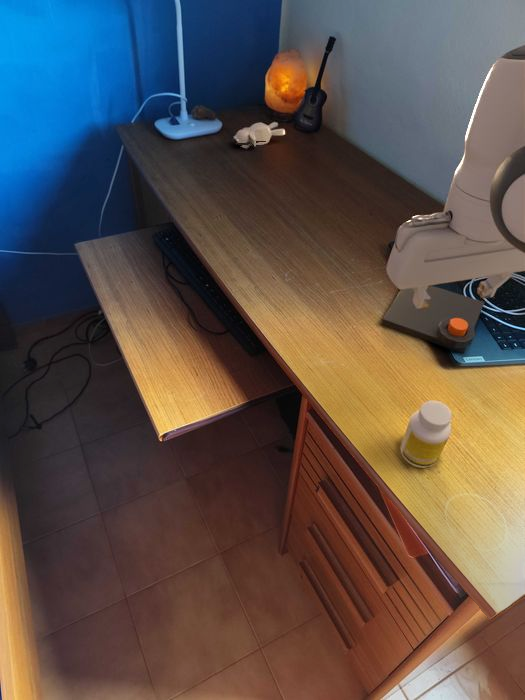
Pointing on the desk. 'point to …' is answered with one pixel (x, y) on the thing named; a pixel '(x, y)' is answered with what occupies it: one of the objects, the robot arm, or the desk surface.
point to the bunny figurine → (257, 134)
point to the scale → (434, 316)
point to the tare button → (457, 327)
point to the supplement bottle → (426, 434)
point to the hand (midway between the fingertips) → (452, 300)
